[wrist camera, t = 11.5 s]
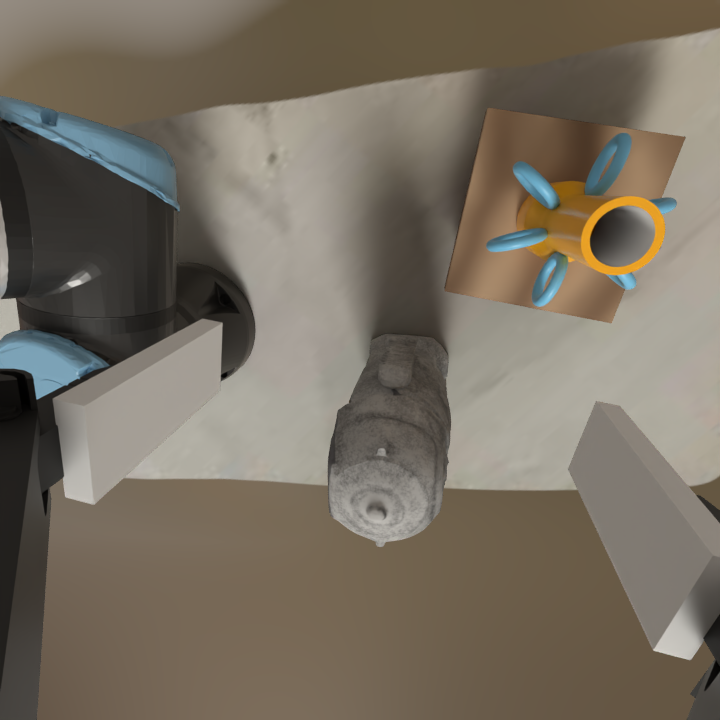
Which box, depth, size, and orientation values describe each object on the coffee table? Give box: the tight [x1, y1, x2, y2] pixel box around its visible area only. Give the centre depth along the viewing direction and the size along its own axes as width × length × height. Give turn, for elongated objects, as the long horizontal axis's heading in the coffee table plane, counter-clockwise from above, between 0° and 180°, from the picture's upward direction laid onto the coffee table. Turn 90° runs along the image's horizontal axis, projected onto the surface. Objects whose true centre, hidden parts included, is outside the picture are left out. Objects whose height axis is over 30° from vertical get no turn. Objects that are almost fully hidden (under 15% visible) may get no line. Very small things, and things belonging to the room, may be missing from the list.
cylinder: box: [486, 133, 677, 307], centre depth 30 cm, size 12×10×15 cm
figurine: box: [328, 334, 451, 547], centre depth 41 cm, size 10×14×25 cm
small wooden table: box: [445, 108, 685, 323], centre depth 40 cm, size 15×15×8 cm
